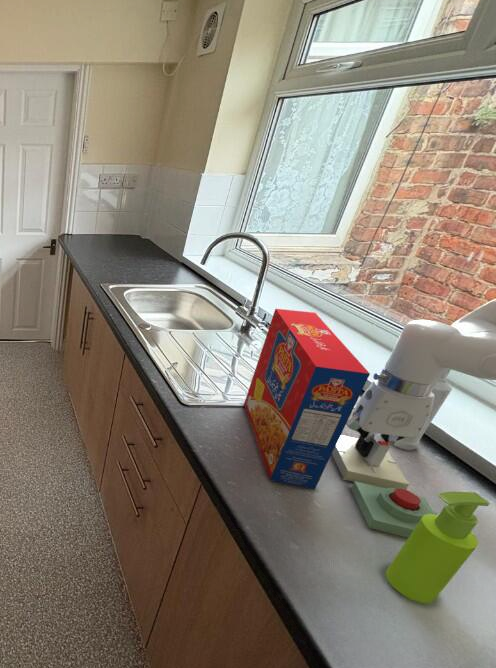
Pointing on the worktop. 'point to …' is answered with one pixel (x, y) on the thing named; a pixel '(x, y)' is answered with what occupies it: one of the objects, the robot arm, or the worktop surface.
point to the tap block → (366, 466)
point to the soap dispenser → (436, 548)
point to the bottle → (440, 395)
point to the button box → (387, 510)
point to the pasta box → (301, 396)
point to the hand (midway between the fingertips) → (367, 453)
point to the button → (405, 499)
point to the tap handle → (377, 451)
